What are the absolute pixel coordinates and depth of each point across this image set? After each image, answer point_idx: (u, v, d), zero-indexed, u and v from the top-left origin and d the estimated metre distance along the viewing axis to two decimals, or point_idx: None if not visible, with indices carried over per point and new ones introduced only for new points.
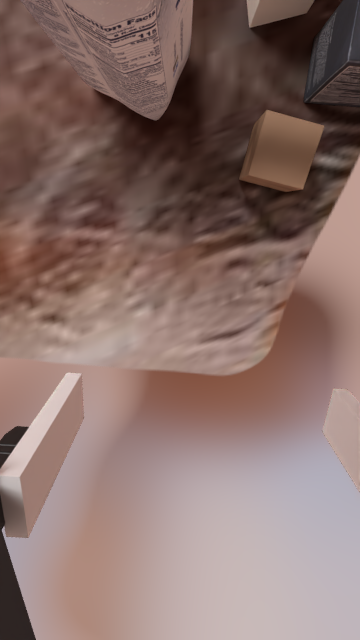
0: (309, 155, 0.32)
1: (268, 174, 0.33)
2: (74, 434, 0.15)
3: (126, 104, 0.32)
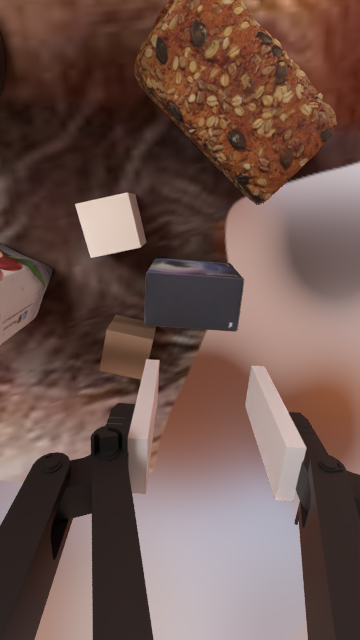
0: (144, 358, 0.41)
1: (114, 370, 0.42)
2: (155, 413, 0.17)
3: None
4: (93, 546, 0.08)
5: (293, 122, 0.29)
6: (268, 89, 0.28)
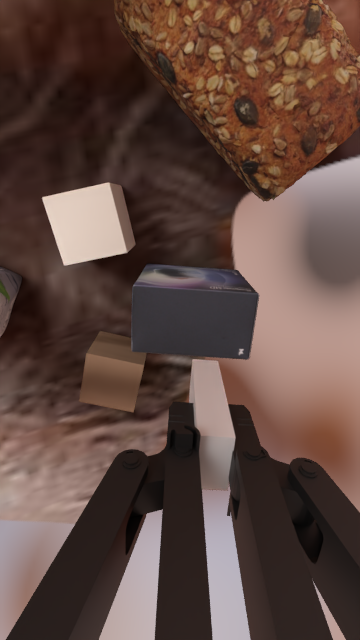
0: (133, 386, 0.34)
1: (97, 400, 0.34)
2: None
3: None
4: (162, 535, 0.09)
5: (324, 92, 0.21)
6: (294, 42, 0.21)
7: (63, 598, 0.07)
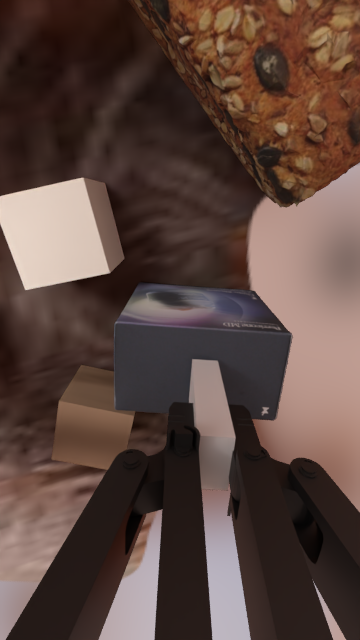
0: (121, 442, 0.26)
1: (75, 458, 0.27)
2: None
3: None
4: (162, 535, 0.09)
5: None
6: None
7: (63, 598, 0.07)
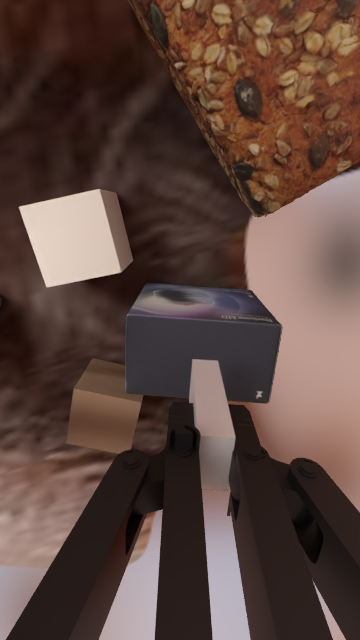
0: (129, 427, 0.29)
1: (87, 442, 0.29)
2: None
3: None
4: (162, 535, 0.09)
5: (346, 93, 0.17)
6: (320, 22, 0.16)
7: (63, 598, 0.07)
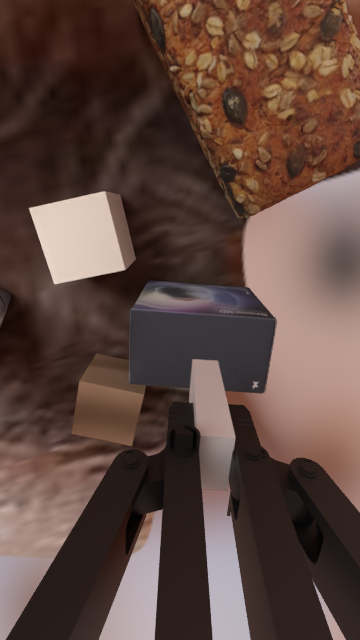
0: (132, 418, 0.30)
1: (92, 433, 0.31)
2: None
3: None
4: (162, 535, 0.09)
5: (324, 110, 0.18)
6: (304, 43, 0.18)
7: (63, 598, 0.07)
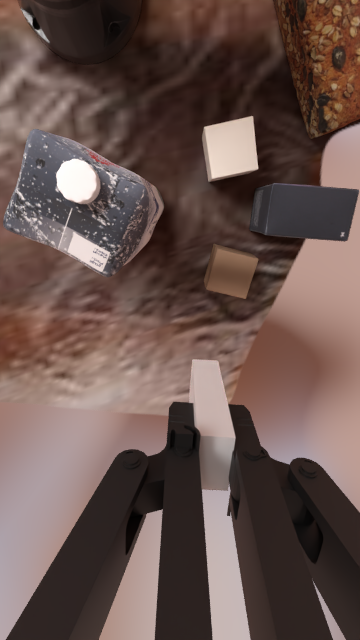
0: (248, 277, 0.46)
1: (220, 288, 0.46)
2: None
3: None
4: (162, 535, 0.09)
5: None
6: None
7: (63, 598, 0.07)
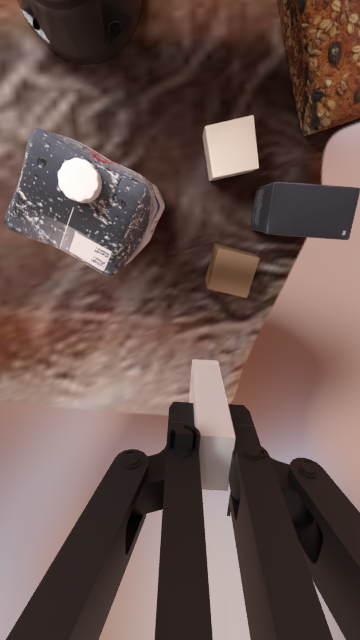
0: (250, 276, 0.46)
1: (221, 288, 0.46)
2: None
3: None
4: (162, 535, 0.09)
5: None
6: None
7: (64, 598, 0.07)
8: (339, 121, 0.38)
